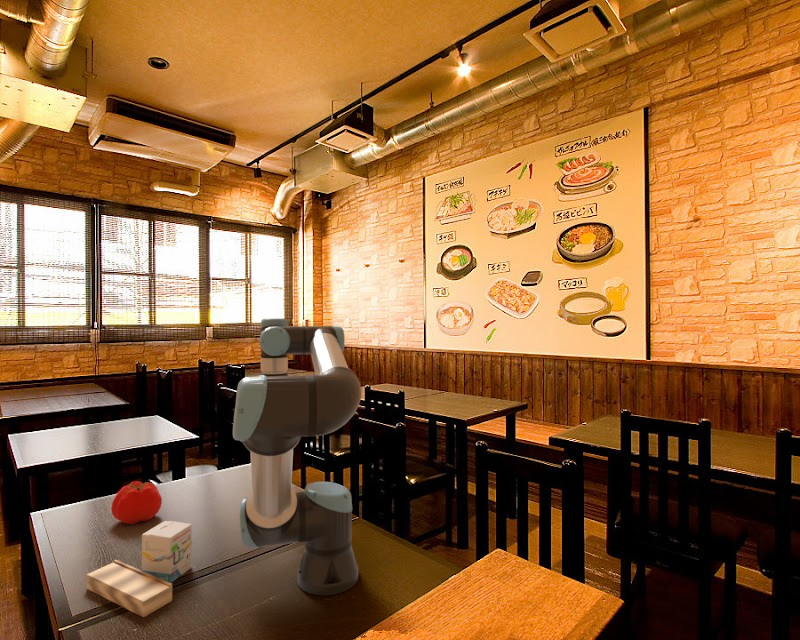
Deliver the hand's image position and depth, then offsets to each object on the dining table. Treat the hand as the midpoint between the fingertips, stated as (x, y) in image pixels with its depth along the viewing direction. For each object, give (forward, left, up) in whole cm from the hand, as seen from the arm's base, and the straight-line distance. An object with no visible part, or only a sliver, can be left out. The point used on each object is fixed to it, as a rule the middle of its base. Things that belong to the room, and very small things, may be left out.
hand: (273, 454), depth 135 cm
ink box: (+13, +24, -27) cm, 38 cm away
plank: (+13, +34, -26) cm, 45 cm away
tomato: (+50, +9, -27) cm, 57 cm away
